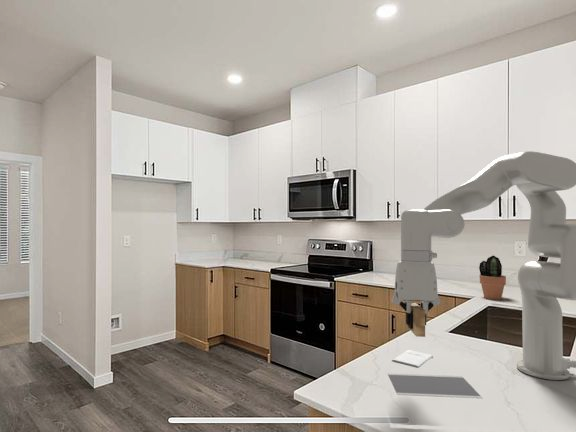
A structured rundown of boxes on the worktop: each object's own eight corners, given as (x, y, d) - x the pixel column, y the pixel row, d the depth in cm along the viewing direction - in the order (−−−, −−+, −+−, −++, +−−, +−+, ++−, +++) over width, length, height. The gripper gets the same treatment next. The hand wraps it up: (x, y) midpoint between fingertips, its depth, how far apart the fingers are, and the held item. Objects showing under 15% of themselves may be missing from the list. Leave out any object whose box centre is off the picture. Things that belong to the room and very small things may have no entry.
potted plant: (504, 297, 219) (504, 254, 220) (507, 301, 207) (507, 256, 208) (478, 295, 225) (478, 253, 226) (480, 299, 212) (480, 255, 213)
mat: (461, 378, 102) (461, 376, 102) (482, 400, 89) (482, 398, 89) (387, 375, 103) (387, 373, 103) (397, 396, 90) (397, 394, 90)
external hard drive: (391, 364, 113) (407, 353, 122) (418, 371, 108) (433, 359, 117) (391, 359, 113) (407, 348, 122) (418, 365, 108) (433, 354, 117)
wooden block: (415, 326, 101) (415, 302, 101) (425, 336, 92) (425, 310, 92) (407, 326, 101) (407, 302, 101) (416, 336, 92) (416, 310, 92)
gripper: (442, 256, 100) (442, 324, 100) (382, 255, 101) (382, 323, 101) (452, 258, 93) (452, 332, 92) (387, 257, 94) (387, 330, 94)
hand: (415, 327), depth 97 cm, fingers closed on wooden block, 2 cm apart
